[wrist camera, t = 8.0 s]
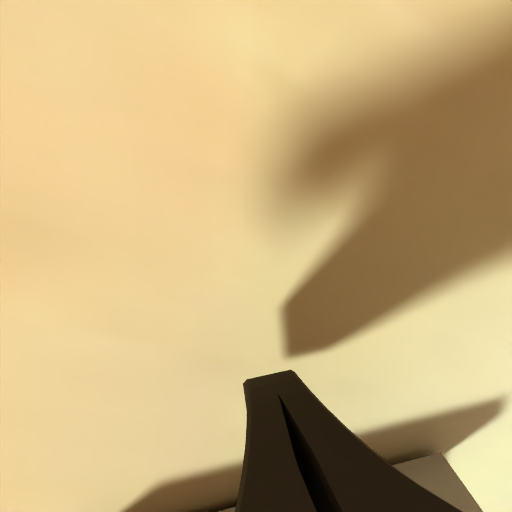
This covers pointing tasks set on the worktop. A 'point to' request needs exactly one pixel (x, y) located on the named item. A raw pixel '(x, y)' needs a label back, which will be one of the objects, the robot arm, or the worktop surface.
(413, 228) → the worktop surface
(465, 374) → the worktop surface
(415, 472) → the tray
